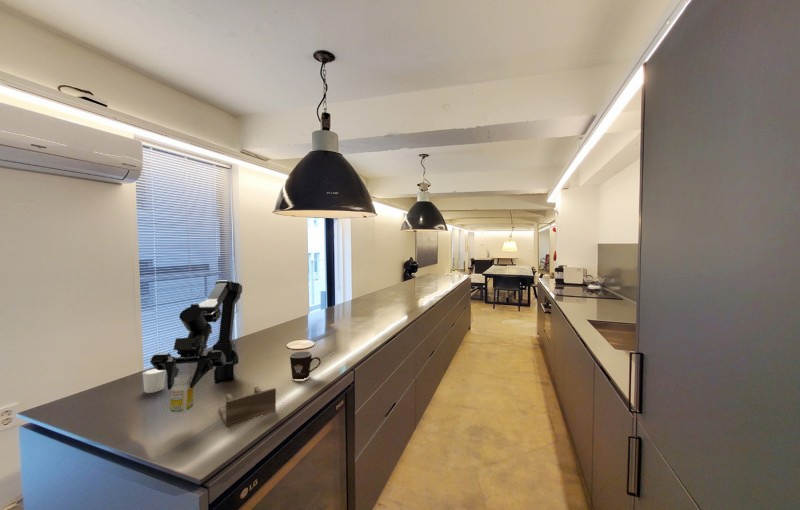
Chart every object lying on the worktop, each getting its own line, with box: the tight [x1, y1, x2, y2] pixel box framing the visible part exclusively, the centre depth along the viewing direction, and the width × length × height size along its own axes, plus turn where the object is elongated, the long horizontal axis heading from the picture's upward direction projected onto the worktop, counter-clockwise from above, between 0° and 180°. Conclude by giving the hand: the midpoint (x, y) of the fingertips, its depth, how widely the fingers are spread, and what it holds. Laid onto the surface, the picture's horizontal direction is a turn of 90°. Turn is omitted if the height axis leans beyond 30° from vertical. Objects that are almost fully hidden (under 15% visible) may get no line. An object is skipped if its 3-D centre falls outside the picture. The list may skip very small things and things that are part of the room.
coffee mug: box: [289, 350, 322, 379], centre depth 123 cm, size 12×9×10 cm
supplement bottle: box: [169, 373, 194, 415], centre depth 87 cm, size 5×5×10 cm
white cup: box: [142, 367, 167, 394], centre depth 112 cm, size 7×7×7 cm
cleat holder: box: [217, 386, 277, 428], centre depth 97 cm, size 12×14×7 cm
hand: (180, 388), depth 86 cm, fingers closed on supplement bottle, 5 cm apart
